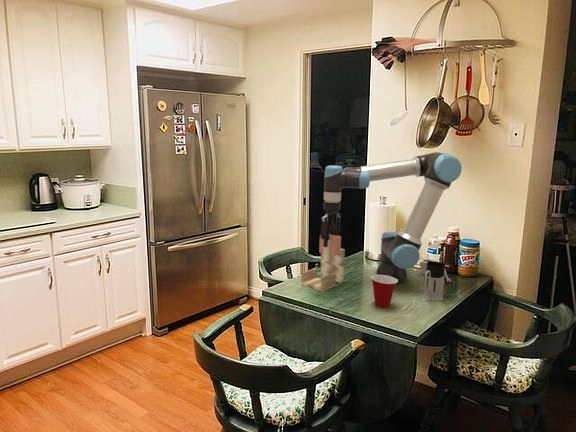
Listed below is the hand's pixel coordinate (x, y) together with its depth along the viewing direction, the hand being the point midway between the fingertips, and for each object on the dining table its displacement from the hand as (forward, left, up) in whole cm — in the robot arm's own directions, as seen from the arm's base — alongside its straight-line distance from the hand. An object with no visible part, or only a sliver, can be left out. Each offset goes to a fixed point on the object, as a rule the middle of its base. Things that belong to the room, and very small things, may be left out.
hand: (329, 252), depth 208 cm
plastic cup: (-28, +2, -17) cm, 33 cm away
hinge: (-31, -47, -17) cm, 59 cm away
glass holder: (-40, -19, -17) cm, 48 cm away
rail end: (0, 0, 0) cm, 0 cm away
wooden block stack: (+6, -4, -17) cm, 18 cm away
